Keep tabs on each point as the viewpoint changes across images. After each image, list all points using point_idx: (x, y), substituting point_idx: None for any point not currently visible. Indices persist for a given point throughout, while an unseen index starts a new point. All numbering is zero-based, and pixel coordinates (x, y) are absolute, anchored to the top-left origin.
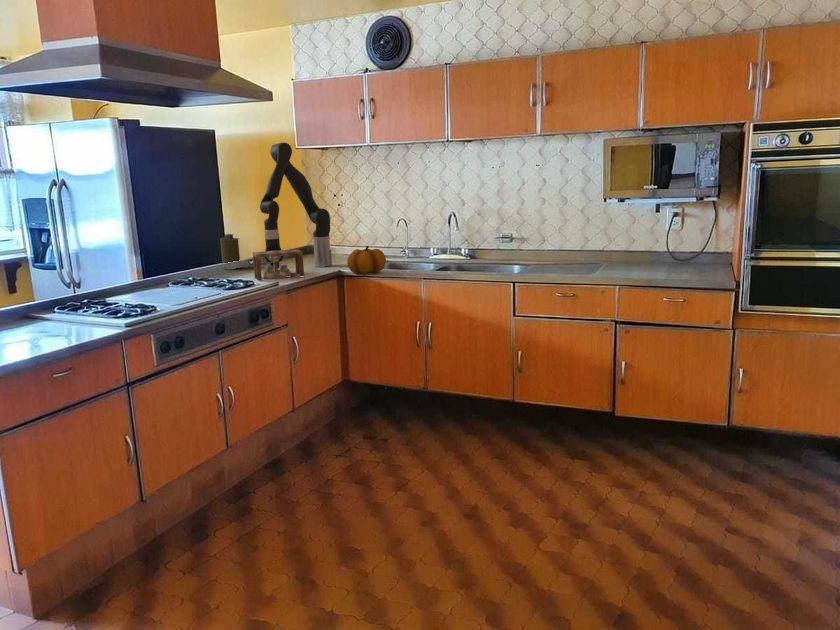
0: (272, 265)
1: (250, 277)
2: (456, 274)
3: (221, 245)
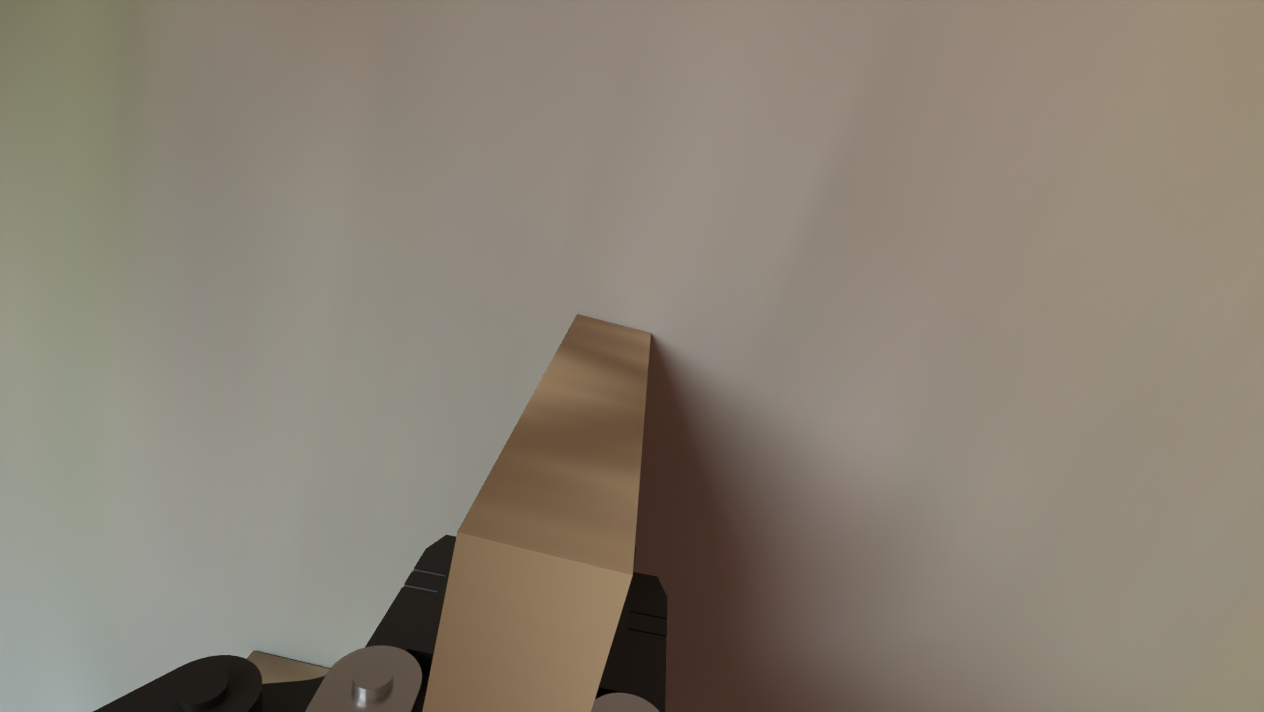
0: None
1: (7, 694)
2: None
3: None
